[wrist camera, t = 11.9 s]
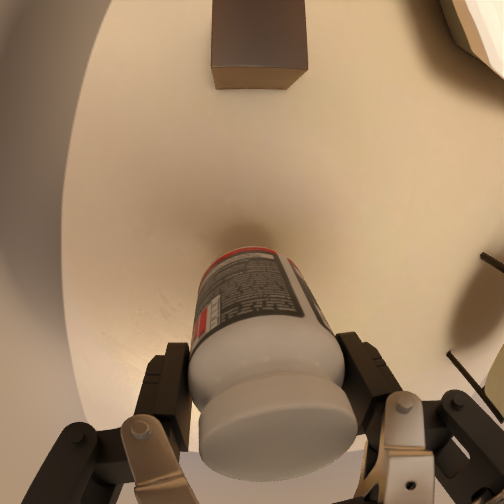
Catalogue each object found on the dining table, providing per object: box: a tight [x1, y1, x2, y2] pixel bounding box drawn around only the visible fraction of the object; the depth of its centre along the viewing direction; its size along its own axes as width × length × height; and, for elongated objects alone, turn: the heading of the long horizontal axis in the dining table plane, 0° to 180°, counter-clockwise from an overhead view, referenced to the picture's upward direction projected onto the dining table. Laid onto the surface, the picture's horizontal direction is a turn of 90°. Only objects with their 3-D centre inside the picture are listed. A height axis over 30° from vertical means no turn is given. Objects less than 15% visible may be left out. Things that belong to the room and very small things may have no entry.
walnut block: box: [211, 0, 308, 90], centre depth 14 cm, size 5×5×6 cm
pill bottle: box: [187, 246, 358, 482], centre depth 11 cm, size 6×6×10 cm
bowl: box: [439, 0, 504, 80], centre depth 11 cm, size 22×23×8 cm
